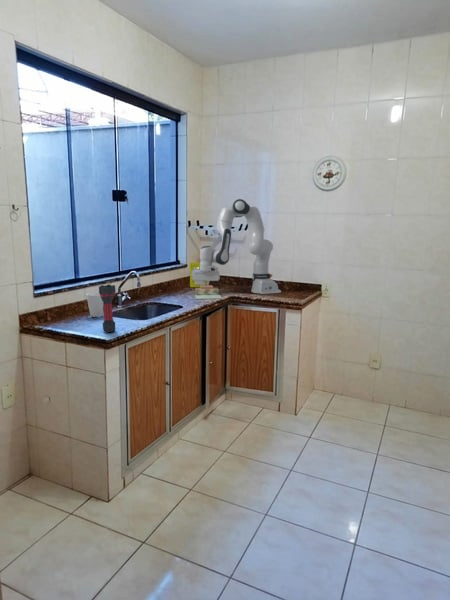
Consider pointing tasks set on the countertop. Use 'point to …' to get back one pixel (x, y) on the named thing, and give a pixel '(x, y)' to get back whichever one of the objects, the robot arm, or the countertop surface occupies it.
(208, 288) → the terracotta tile
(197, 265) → the food package
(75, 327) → the countertop surface
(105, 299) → the flashlight
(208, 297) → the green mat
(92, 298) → the foam cup
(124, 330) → the countertop surface
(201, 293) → the birch deck
